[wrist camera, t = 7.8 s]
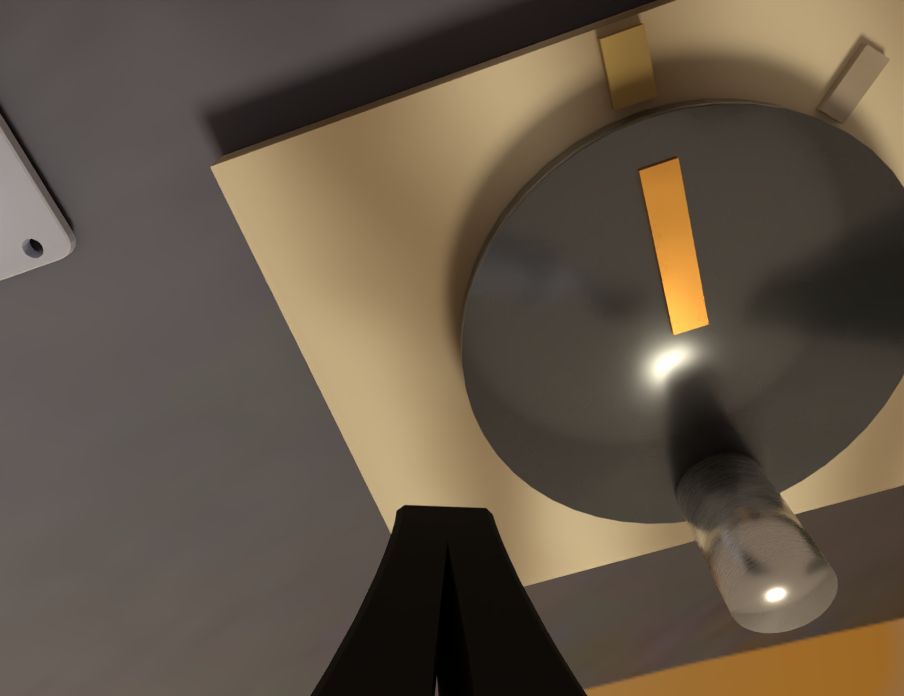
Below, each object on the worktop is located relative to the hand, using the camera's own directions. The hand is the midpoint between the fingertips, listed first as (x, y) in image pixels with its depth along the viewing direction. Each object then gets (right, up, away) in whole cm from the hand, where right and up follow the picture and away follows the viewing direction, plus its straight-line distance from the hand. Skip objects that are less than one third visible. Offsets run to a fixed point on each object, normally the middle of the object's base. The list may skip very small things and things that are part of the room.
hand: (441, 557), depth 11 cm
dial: (+6, +4, +9) cm, 11 cm away
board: (+6, +4, +10) cm, 12 cm away
